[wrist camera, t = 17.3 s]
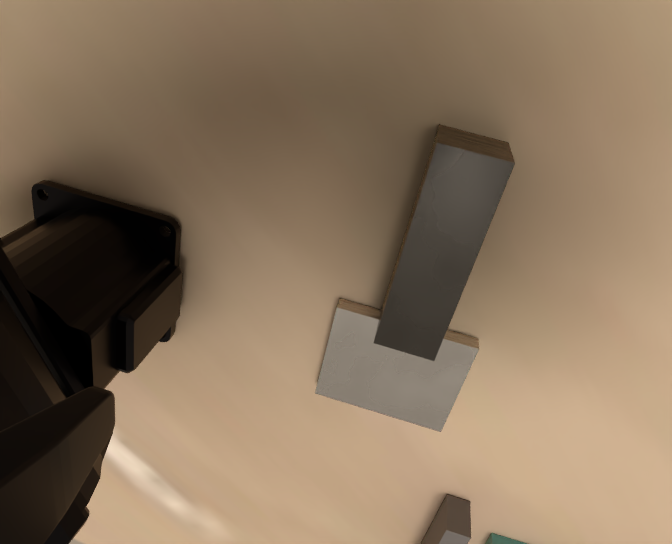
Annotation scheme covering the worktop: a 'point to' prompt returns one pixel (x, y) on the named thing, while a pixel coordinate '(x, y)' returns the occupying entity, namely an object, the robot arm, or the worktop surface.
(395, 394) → the turner
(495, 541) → the tile
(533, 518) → the worktop surface
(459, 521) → the corral
